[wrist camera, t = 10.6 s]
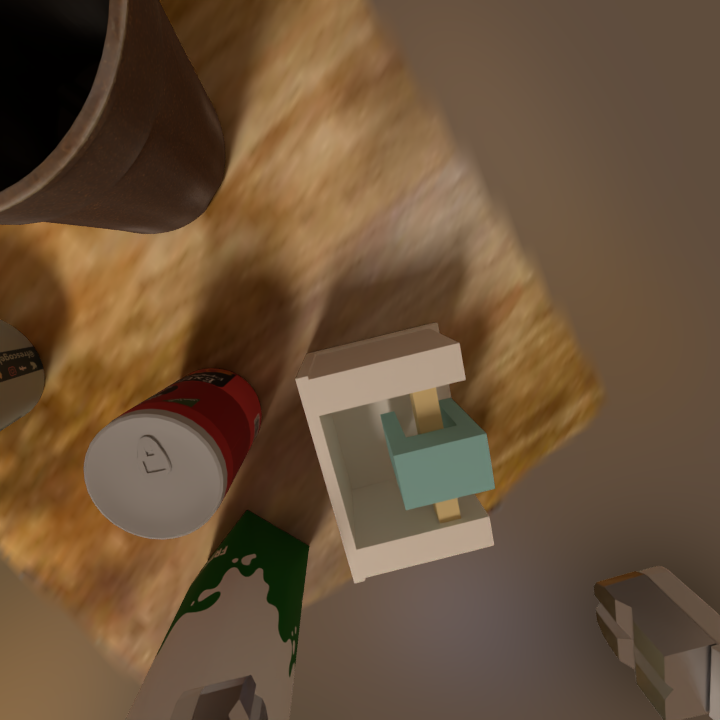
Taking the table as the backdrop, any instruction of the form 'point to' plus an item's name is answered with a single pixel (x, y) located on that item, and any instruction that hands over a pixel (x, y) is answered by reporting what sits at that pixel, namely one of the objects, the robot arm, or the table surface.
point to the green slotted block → (439, 458)
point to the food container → (18, 375)
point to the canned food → (173, 454)
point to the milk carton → (234, 623)
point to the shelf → (370, 452)
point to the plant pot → (102, 118)
